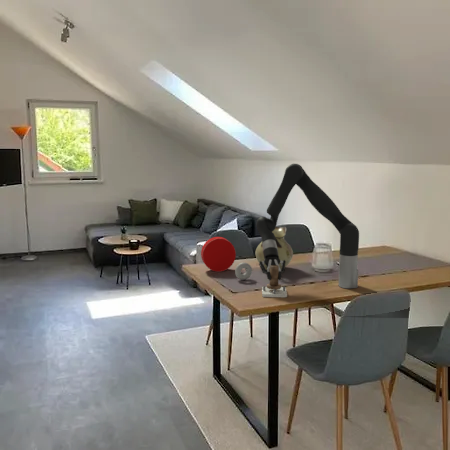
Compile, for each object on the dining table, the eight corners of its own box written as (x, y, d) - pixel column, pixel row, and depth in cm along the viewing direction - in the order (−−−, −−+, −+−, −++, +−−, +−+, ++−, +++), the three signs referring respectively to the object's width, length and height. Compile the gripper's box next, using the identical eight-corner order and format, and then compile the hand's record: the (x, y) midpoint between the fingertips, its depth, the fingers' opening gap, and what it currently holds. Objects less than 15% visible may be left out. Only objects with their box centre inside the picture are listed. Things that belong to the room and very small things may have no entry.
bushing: (280, 285, 238) (280, 264, 236) (281, 289, 231) (281, 267, 230) (266, 285, 239) (267, 264, 237) (267, 289, 232) (267, 267, 230)
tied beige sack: (283, 263, 297) (283, 224, 293) (300, 272, 275) (300, 230, 271) (250, 266, 290) (249, 226, 286) (264, 276, 268) (264, 233, 264)
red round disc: (233, 268, 286) (233, 235, 283) (235, 270, 280) (235, 237, 277) (201, 270, 282) (200, 237, 279) (202, 272, 276) (202, 239, 273)
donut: (250, 278, 264) (250, 260, 262) (253, 279, 260) (253, 262, 259) (234, 280, 260) (233, 262, 258) (236, 281, 257) (236, 264, 255)
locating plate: (285, 290, 241) (285, 283, 240) (286, 297, 229) (287, 290, 229) (262, 289, 242) (262, 283, 241) (262, 296, 230) (262, 290, 229)
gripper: (257, 246, 238) (261, 276, 228) (285, 246, 240) (290, 275, 230) (255, 254, 244) (259, 283, 235) (282, 253, 246) (287, 282, 236)
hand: (274, 279), depth 232 cm, fingers closed on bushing, 4 cm apart
